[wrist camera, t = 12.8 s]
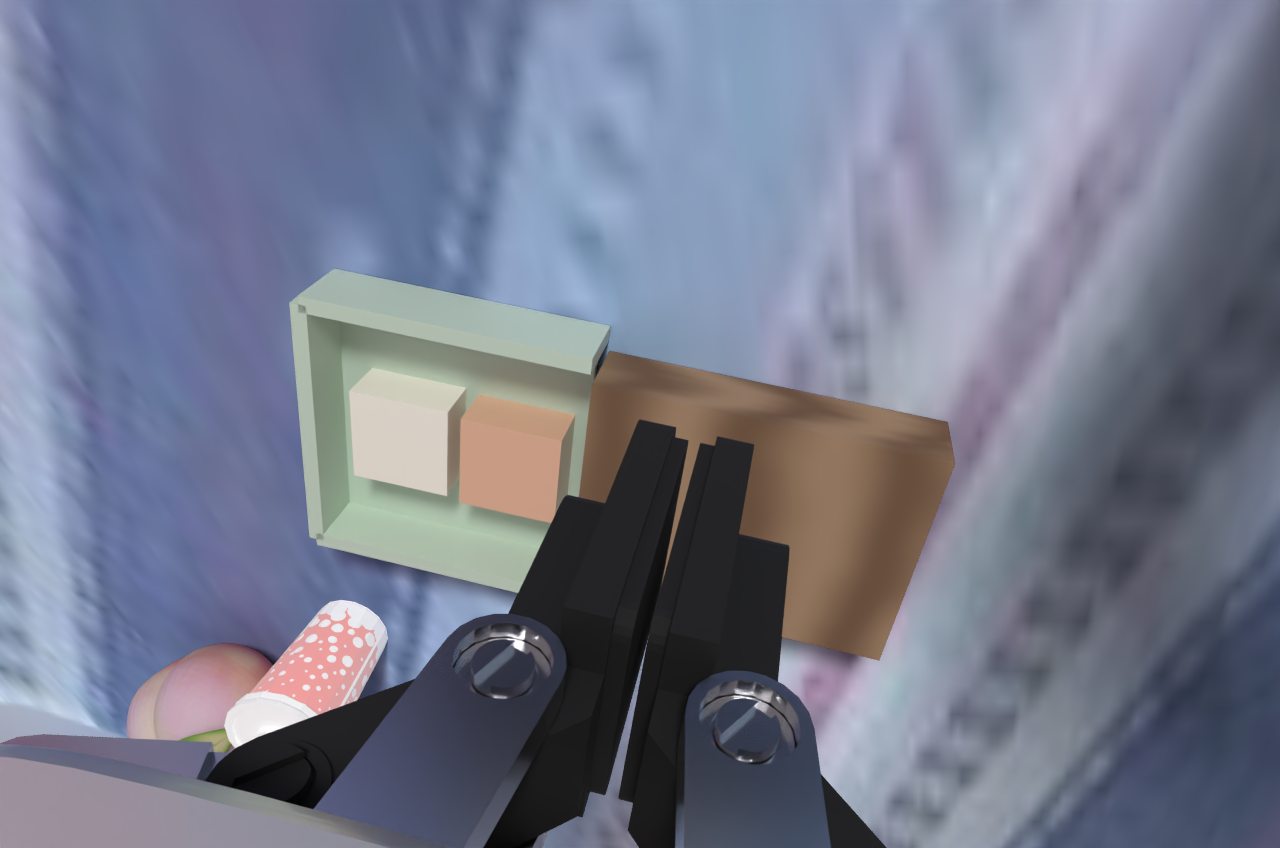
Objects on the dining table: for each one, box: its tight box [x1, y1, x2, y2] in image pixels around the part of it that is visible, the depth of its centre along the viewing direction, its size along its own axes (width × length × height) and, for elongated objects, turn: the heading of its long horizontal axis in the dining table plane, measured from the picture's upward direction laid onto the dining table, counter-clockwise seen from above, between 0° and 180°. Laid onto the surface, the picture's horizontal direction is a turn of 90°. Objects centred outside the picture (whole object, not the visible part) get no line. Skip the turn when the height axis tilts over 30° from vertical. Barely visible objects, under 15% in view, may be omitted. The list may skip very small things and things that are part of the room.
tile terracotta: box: [459, 394, 575, 523], centre depth 45 cm, size 5×5×2 cm
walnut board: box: [579, 351, 955, 660], centre depth 44 cm, size 16×12×4 cm
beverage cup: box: [224, 600, 388, 748], centre depth 50 cm, size 6×6×14 cm
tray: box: [289, 269, 610, 593], centre depth 45 cm, size 14×15×4 cm
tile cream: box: [349, 368, 467, 496], centre depth 45 cm, size 5×5×2 cm
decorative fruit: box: [127, 643, 273, 753], centre depth 55 cm, size 9×8×10 cm
